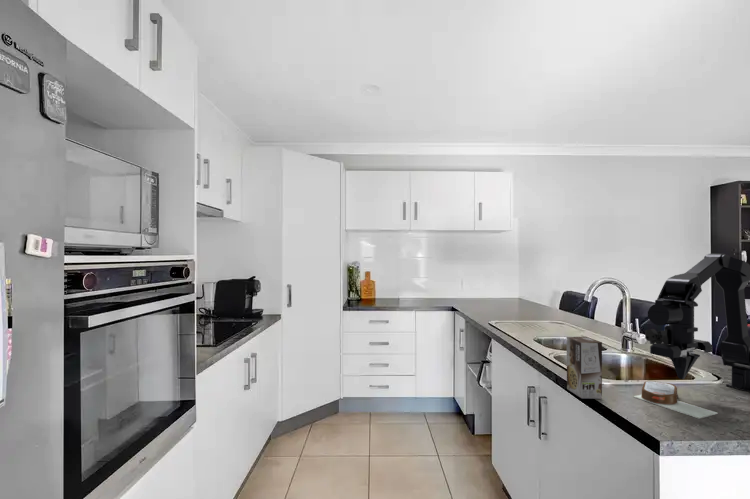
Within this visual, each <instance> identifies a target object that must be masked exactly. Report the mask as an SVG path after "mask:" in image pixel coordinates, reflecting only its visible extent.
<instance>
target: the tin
mask: <svg viewBox="0 0 750 499" xmlns="http://www.w3.org/2000/svg"><path fill="white" fill-rule="evenodd" d="M640 395H641V397H642V398H643V399H645V400H647V401H650V402H654V403H659V404H676V403H677V400H678V396H679V395H678V386H676V385H675V384H673V383H669V382H661V381H656V380H645V381H644V382H643V385H642V388H641V394H640ZM647 401H646V402H647ZM650 402H649V403H650Z"/></svg>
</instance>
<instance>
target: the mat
mask: <svg viewBox="0 0 750 499" xmlns="http://www.w3.org/2000/svg"><path fill="white" fill-rule="evenodd" d="M641 395H642V394H638V395H633V398H635V399H638V400H641V401H644V402H647V403H650V404H653V405H656V406H659V407H662V408H666V409H668V410H671V411H675V412H678V413H681V414H683V415H687V416H690V417H693V418H696V419H700V420H701V419H703V418H707V417H711V416H714V415H718V413H719V412H716V411H714V410H710V409H706V408H704V407H700V406H697V405H694V404H690V403H687V402H684V401H680V400H678V399H677V403H676V404H659V403H654V402H650V401H647V400H645V399H643V398H642V397H641Z"/></svg>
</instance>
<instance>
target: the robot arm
mask: <svg viewBox="0 0 750 499" xmlns="http://www.w3.org/2000/svg"><path fill="white" fill-rule="evenodd" d="M713 276H714V278H715V282H716V283H717V284H718V286H719V287H720V288H721V289H722V291H723V301H724V309H725V310H724V312H725V319H726V320H725V321H726V332H727V336H726V337H725V339H724V340H722V341H721V342H720V348H721V349H720V355H721V359H722V364H723V366H727V367H730V368H731V373H730V374H731V381H730V383H726V384H725V386H726V387H730V388H734V389H739V390H742V391H745V392H750V335H749V327H748V316H747V306H746V296H745V295H746V294H745V288H746V287H747V286H748V284H749V282H750V264H749V263H748V262H747V261H745V260H742V259H740V258H735V257H733V256H732V257H731V256H730V255H729V254H726V253H708V254H705V255H704V257H703V258H702V259H701V260H700V261H699V262H697V263H696V264H695V265H694V266H692V267H691V268H690V269H688V270H687V271H686V272H683V273H680V274H675V275H673V276H670V277H668V278H667V279H666V280H665V282H664V284H663V285H662V288H661V289H660V292H659V295H658V297H657V299H655V300H654V302H655V303H654V304H653V305H651V306H650V307H649V309H648V310H647V318H648V320H650V322H651V323H652V324H653V325H656V326H664V327H663V330H659V331H657V330H656V329H655V328H651V329H646V330H645V337H644V339H645V340H646V341H647V342H649V344H650V346H649V354H651V355H656V356H660V357H664V358H667V359H668V358H669V359H670V360H671V362H672V365H673V368H674V370H675V372H676V375H677V378H678V379H680V380H685V378H686V376H687V375H688V374H689V372H690V370H691V369H692V367H693V366H694V364H695V362H696V361H697V360H698V359H699V358H700V357H701V355H700V354H696V353H695V351H694V350H697V351H698V350H699V351H703V352H704V353H706V354H709V353H713V344H711V342H710V341H706V340H701V339H695V332H699V331H698V330H699V327H696V326H695V307H698V306H699V304H698V303H697V301H695V299H696V298H698V297H699V295H700V294H701V293H702V292H703V290H702V285H703V284H705V283H706V282H707V281H708V280H710V279H711V278H712V277H713Z"/></svg>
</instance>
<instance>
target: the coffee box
mask: <svg viewBox="0 0 750 499" xmlns="http://www.w3.org/2000/svg"><path fill="white" fill-rule="evenodd" d="M565 339H566V389H567V390H568V391H569V392H571V393H573V394H574V395H576V396H577V397H579V398H580V399H599V400H600V399H601V400H602V398H603V342H602V341H599V340H596V339H594V338H592V337H588V336H566V338H565Z"/></svg>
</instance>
